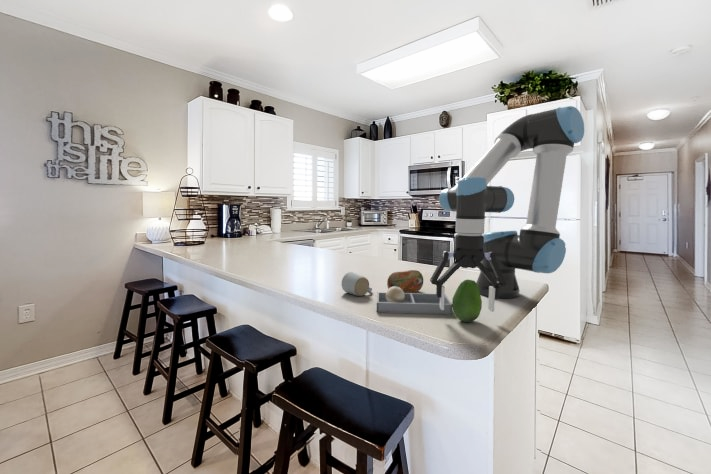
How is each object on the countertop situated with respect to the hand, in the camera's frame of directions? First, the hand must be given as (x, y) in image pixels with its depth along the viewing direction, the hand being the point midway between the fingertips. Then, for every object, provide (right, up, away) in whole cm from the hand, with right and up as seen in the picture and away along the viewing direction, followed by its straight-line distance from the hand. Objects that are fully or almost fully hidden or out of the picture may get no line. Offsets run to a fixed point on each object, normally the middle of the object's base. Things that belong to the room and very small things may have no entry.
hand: (466, 309), depth 92 cm
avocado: (0, -4, 0) cm, 4 cm away
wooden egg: (-19, +2, +12) cm, 22 cm away
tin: (-13, -1, +29) cm, 32 cm away
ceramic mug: (-30, -1, +28) cm, 41 cm away
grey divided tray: (-13, -2, +12) cm, 18 cm away
